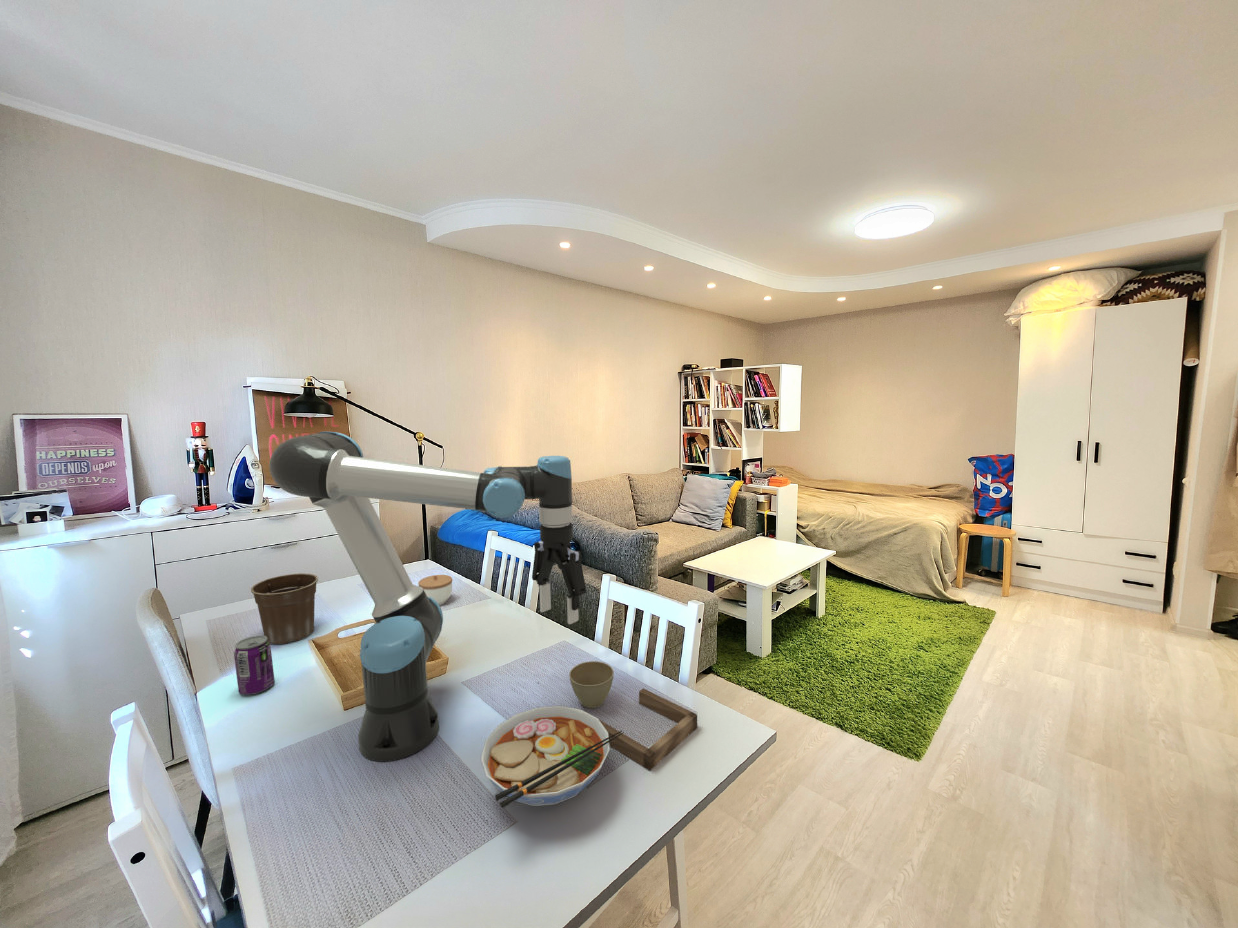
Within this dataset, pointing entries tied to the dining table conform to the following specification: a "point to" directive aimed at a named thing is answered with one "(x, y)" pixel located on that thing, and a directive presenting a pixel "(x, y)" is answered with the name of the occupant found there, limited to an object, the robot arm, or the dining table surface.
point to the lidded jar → (437, 587)
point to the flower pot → (591, 682)
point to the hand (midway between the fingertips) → (559, 615)
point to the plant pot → (286, 606)
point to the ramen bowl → (545, 755)
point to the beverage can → (253, 665)
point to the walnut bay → (666, 742)
